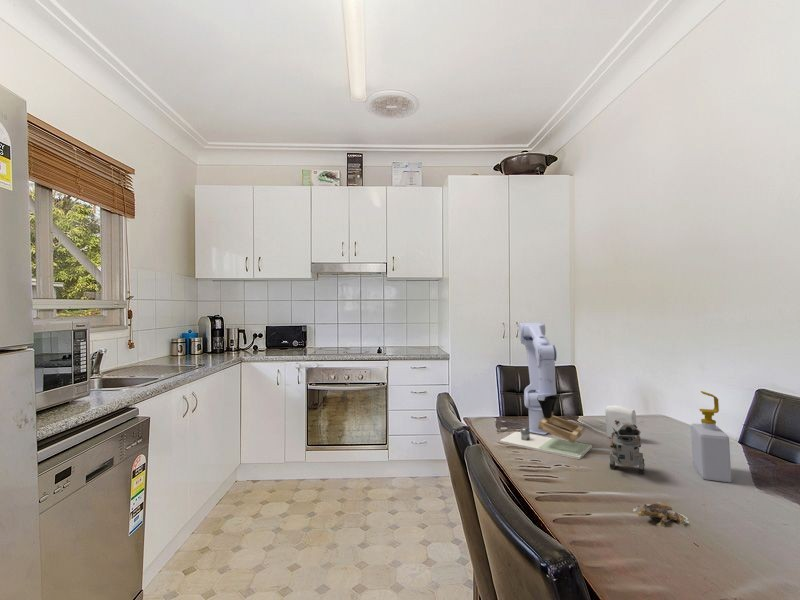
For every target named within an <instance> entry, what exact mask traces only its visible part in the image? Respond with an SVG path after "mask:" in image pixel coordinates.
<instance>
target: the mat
mask: <svg viewBox="0 0 800 600" xmlns="http://www.w3.org/2000/svg"><path fill="white" fill-rule="evenodd" d="M551 438H552V439H550V440H549V441H547V442H546V443H544V444H543V445H542V446H540V447H539V448H541V449H545V450H550V451H555V452H560V453H565V454H570V455H575V456H579V455H580V454H581V453H582V452H583V451H584V450H585V449H587V448H588V447H589V446H590V445H591V444H586V443H581V442H576V441H575V442H574V443H573V442H570V441H568V440H565V439H560V438H553V437H551Z"/></svg>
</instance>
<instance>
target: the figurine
mask: <svg viewBox="0 0 800 600" xmlns="http://www.w3.org/2000/svg"><path fill="white" fill-rule="evenodd" d="M613 423H614V424H613V426H612V428H613V430H614V431H615V432H613V433H612V438H610V443H609V446H610V448H609V469H610V470H614V469H615V466H616V464H617V465H619V466H620V465H621V466H623V467H624V466H626V467H637V466H638V467H639V468H638V469H639V470H638V471H639V474H640V475H645V467H646V465H645V464H646V463H645V459H644V453H643V452H640V448H642V443H641V436H640V435H641V432H642V431H640V430H639V429H638V426H637V424H636V425H634V424H633V425H632V424H631V423H630V422H628V421H627V420H626V419H615V420H614V421H613ZM615 434H616V435H615ZM635 436H637V438H636V437H635Z"/></svg>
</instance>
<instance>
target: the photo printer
mask: <svg viewBox="0 0 800 600" xmlns="http://www.w3.org/2000/svg"><path fill="white" fill-rule="evenodd" d="M615 419H626V420H627V421H628V422H630V423H631V424H632V425H633V424H634V425H636V426H637V414H636V411H635V409H633V408H631V407H629V406H625V405H622V404H621V405H620V404H612V405H607V406H606V408H605V424H606V425H605V427H606V437H607V438H610V439H612V433H613V432H615V431H614V430H613V428H612V426H613V424H614V423H613V421H614V420H615ZM615 435H616V434H615ZM635 437H636V438H637V436H635Z"/></svg>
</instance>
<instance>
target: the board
mask: <svg viewBox="0 0 800 600" xmlns="http://www.w3.org/2000/svg"><path fill="white" fill-rule="evenodd" d="M552 438H553V437H549V436H548V437H547V436H544V435H539V434H533V433H530V440H528V441H525V440H522V439H521V431H514V432H512V433H510V434H509V435H507V436H505V437H503V438H502V439H500V440H499V441H498V442H499V444H503V445H509V446H513V447H517V448H523V449H528V450H532V451H537V452H542V453H547V454H551V455H556V456H561V457H567V458H571V459H575V460H581V459H582V458H583V457H584V456H585V455H586V454H587V453H588V452H589V451H590V450H591V449H592V448H593V445H591V444H589V445H590V446H589V447H588V448H587V449H585V450H584V451H583V452H582V453H581V454H580V455H579V456H575V455H570V454H565V453H560V452H555V451H550V450H545V449H541V448H539V447H540V446H542V445H543V444H544V443H546V442H547V441H549V440H550V439H552Z"/></svg>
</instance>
